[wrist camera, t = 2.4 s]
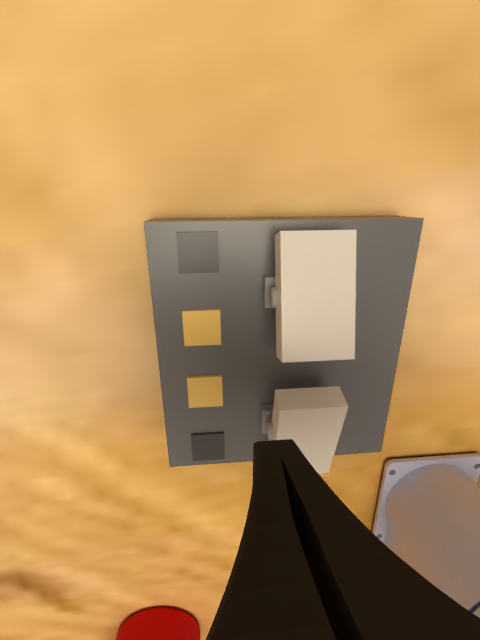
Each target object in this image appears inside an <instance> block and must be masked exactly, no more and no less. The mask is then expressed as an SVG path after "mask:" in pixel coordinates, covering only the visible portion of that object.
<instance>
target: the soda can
mask: <svg viewBox="0 0 480 640" xmlns="http://www.w3.org/2000/svg"><path fill="white" fill-rule="evenodd" d="M116 640H200V629H199V626H198V624H197V623H196V621H195V620H194V618H193V617H192V616H191V615H189V614H188V613H186V612H184V611H182V610H179V609H175V608H170V607H156V608H149V609H146V610H142V611H140V612H138V613H136V614H134V615H132V616H131V617H130V618H129V619H127V620H126V621H125V623H124V624H123V625H122V626H121V627H120V629H119V631H118V634H117V638H116Z"/></svg>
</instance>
